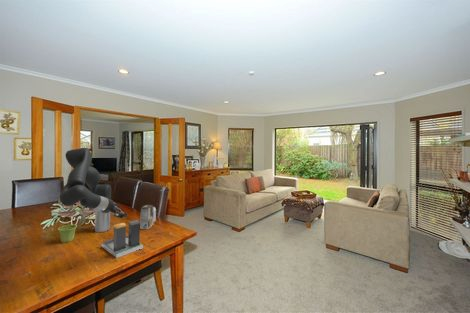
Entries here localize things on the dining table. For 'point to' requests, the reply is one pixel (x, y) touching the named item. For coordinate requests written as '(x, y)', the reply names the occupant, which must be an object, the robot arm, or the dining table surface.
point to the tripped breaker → (119, 236)
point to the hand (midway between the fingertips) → (122, 211)
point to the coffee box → (146, 217)
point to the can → (154, 214)
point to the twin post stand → (131, 241)
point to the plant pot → (67, 233)
